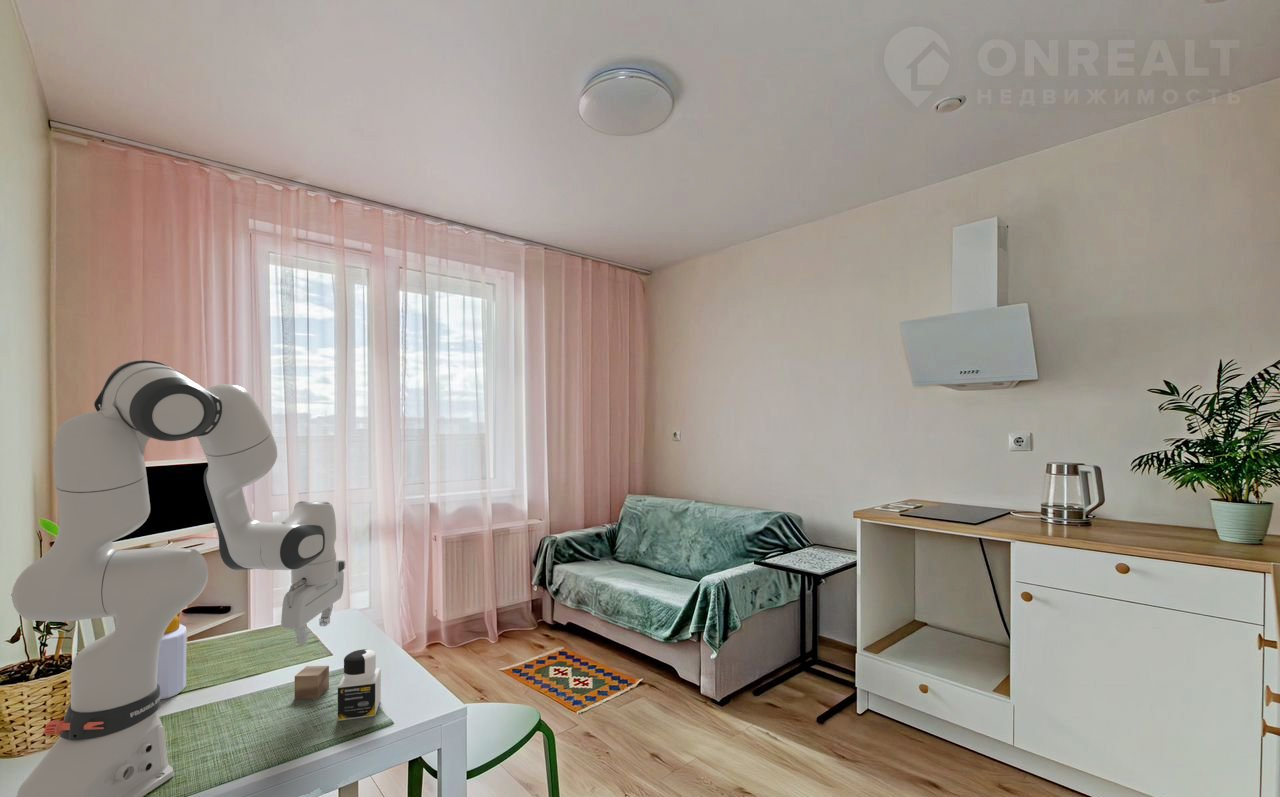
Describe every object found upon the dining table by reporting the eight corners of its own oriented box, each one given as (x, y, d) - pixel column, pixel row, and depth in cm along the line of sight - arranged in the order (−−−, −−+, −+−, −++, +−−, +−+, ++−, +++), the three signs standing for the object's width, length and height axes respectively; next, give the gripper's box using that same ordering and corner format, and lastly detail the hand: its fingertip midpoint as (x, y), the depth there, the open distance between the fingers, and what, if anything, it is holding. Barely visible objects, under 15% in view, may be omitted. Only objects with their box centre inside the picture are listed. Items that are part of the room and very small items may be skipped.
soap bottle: (191, 692, 132) (192, 601, 132) (143, 706, 126) (144, 610, 126) (180, 674, 141) (181, 589, 141) (135, 686, 135) (136, 597, 135)
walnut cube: (317, 698, 128) (317, 675, 129) (294, 699, 128) (294, 676, 128) (328, 687, 133) (328, 665, 134) (306, 688, 133) (306, 666, 133)
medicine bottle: (337, 721, 119) (337, 662, 119) (344, 704, 125) (345, 648, 126) (375, 716, 120) (375, 657, 121) (380, 700, 127) (381, 644, 128)
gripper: (303, 587, 121) (303, 653, 121) (348, 559, 142) (348, 616, 142) (272, 587, 121) (272, 654, 121) (322, 559, 141) (322, 616, 141)
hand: (314, 633), depth 132 cm, fingers open, 8 cm apart
